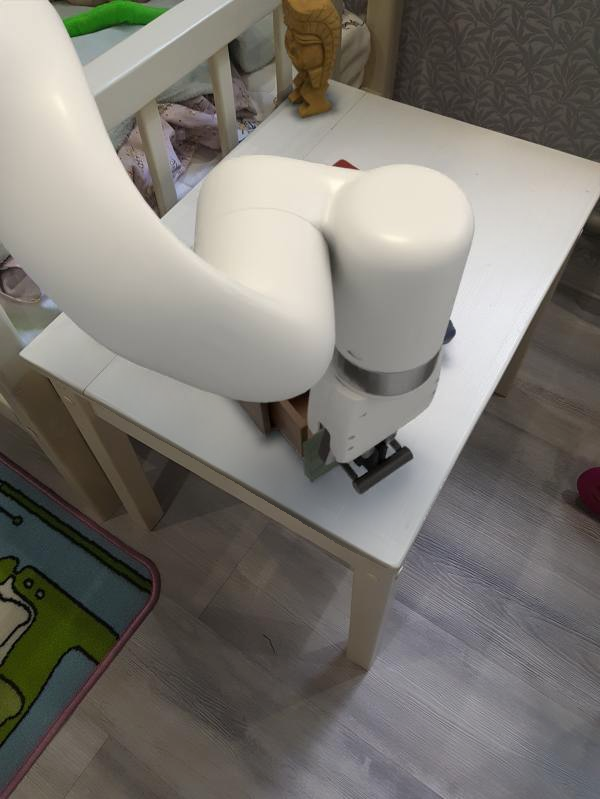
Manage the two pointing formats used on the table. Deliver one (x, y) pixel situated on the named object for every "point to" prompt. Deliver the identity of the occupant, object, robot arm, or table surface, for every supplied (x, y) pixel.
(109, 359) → the table surface
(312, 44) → the figurine
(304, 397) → the drawer
